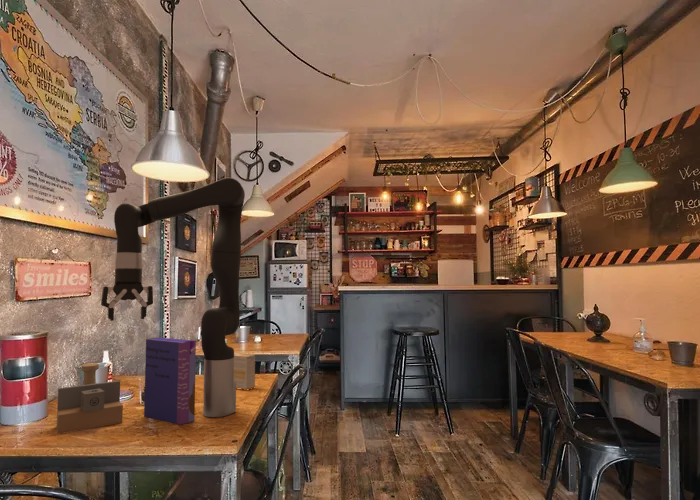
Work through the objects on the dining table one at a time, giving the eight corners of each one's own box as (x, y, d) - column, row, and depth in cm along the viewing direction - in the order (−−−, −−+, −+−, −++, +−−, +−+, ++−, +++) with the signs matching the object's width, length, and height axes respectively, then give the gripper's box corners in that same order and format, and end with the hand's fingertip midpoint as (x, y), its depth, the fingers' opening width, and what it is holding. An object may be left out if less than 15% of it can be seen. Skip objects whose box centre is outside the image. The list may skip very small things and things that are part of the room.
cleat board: (118, 416, 134) (119, 380, 135) (122, 422, 128) (123, 384, 129) (56, 427, 125) (58, 388, 126) (57, 433, 119) (59, 393, 120)
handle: (78, 415, 136) (80, 367, 137) (81, 410, 142) (82, 363, 143) (96, 413, 138) (97, 365, 139) (98, 408, 144) (99, 362, 145)
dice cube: (103, 408, 125) (104, 391, 126) (84, 412, 122) (84, 394, 122) (99, 405, 129) (100, 388, 129) (80, 408, 125) (80, 391, 126)
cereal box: (194, 421, 129) (195, 340, 131) (181, 425, 125) (182, 342, 127) (157, 412, 138) (159, 336, 140) (144, 416, 134) (146, 338, 136)
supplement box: (255, 388, 169) (255, 354, 170) (246, 391, 164) (246, 356, 165) (240, 385, 173) (240, 352, 174) (231, 388, 169) (231, 354, 170)
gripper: (150, 268, 142) (149, 317, 141) (101, 267, 134) (99, 320, 133) (155, 267, 136) (154, 319, 135) (104, 266, 128) (102, 322, 127)
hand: (127, 319), depth 134 cm, fingers open, 8 cm apart
